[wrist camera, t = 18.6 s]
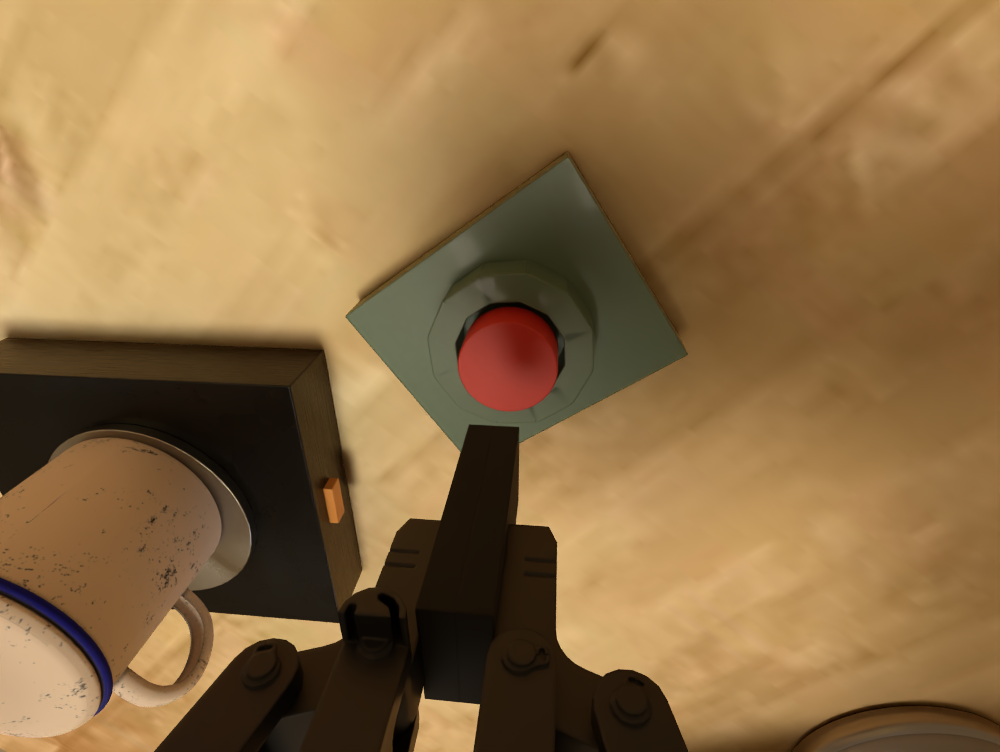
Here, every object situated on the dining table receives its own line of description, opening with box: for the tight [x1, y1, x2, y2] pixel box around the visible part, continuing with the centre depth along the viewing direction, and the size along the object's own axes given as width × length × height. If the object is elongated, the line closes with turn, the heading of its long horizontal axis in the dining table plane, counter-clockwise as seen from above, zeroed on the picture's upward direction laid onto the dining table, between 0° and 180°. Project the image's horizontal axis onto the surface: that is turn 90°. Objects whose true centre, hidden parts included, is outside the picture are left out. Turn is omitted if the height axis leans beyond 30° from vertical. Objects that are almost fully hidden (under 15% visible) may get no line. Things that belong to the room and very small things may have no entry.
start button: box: [458, 307, 558, 411], centre depth 22 cm, size 4×4×2 cm
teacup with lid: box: [0, 438, 221, 738], centre depth 23 cm, size 12×9×12 cm
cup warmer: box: [0, 338, 362, 623], centre depth 30 cm, size 18×16×5 cm
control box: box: [346, 152, 688, 452], centre depth 24 cm, size 12×10×4 cm
